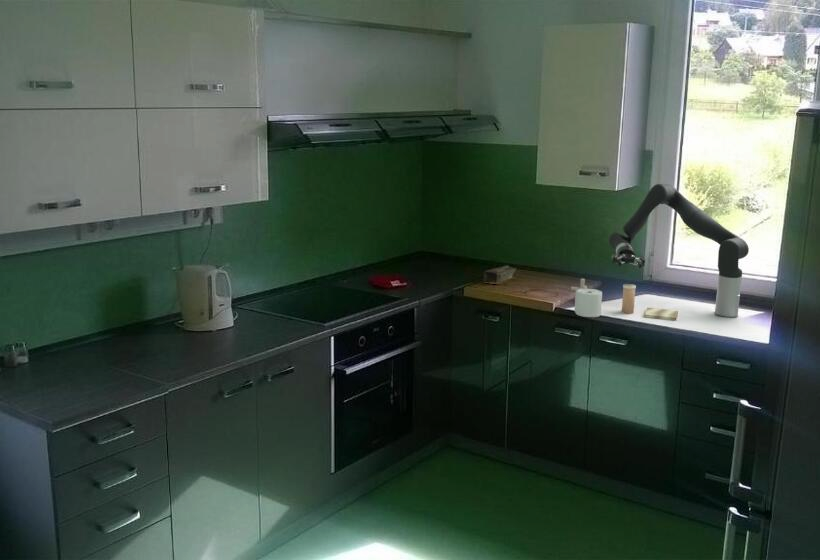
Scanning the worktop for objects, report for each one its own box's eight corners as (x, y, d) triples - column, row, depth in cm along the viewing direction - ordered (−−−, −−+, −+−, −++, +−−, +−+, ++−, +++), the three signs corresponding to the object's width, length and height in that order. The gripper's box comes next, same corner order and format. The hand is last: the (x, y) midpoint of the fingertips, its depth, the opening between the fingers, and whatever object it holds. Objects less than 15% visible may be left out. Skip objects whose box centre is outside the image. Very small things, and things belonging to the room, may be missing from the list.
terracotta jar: (634, 311, 355) (636, 284, 352) (633, 314, 350) (635, 287, 347) (621, 310, 357) (624, 283, 354) (620, 313, 352) (622, 286, 349)
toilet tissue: (598, 318, 343) (599, 295, 341) (570, 315, 347) (571, 292, 345) (602, 312, 352) (604, 290, 350) (575, 309, 357) (576, 287, 355)
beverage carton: (516, 279, 412) (517, 266, 410) (496, 286, 397) (496, 273, 396) (503, 277, 416) (504, 264, 415) (482, 283, 402) (482, 270, 400)
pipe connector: (567, 301, 370) (568, 280, 368) (574, 296, 379) (575, 275, 376) (589, 304, 365) (590, 282, 363) (595, 299, 374) (596, 278, 372)
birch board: (677, 313, 352) (678, 310, 352) (676, 320, 342) (676, 317, 341) (646, 310, 357) (647, 307, 357) (644, 317, 346) (644, 314, 346)
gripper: (610, 243, 372) (615, 255, 357) (642, 247, 371) (648, 259, 356) (608, 259, 374) (612, 271, 359) (639, 262, 374) (645, 275, 359)
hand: (630, 265), depth 358 cm, fingers open, 8 cm apart
